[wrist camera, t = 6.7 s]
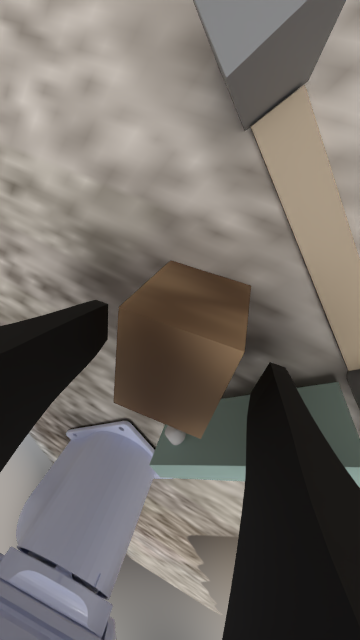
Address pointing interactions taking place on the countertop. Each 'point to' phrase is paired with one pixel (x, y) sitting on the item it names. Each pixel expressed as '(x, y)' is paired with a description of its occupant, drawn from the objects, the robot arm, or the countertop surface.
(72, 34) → the countertop surface
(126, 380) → the block
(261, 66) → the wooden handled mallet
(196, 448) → the pale green long block
